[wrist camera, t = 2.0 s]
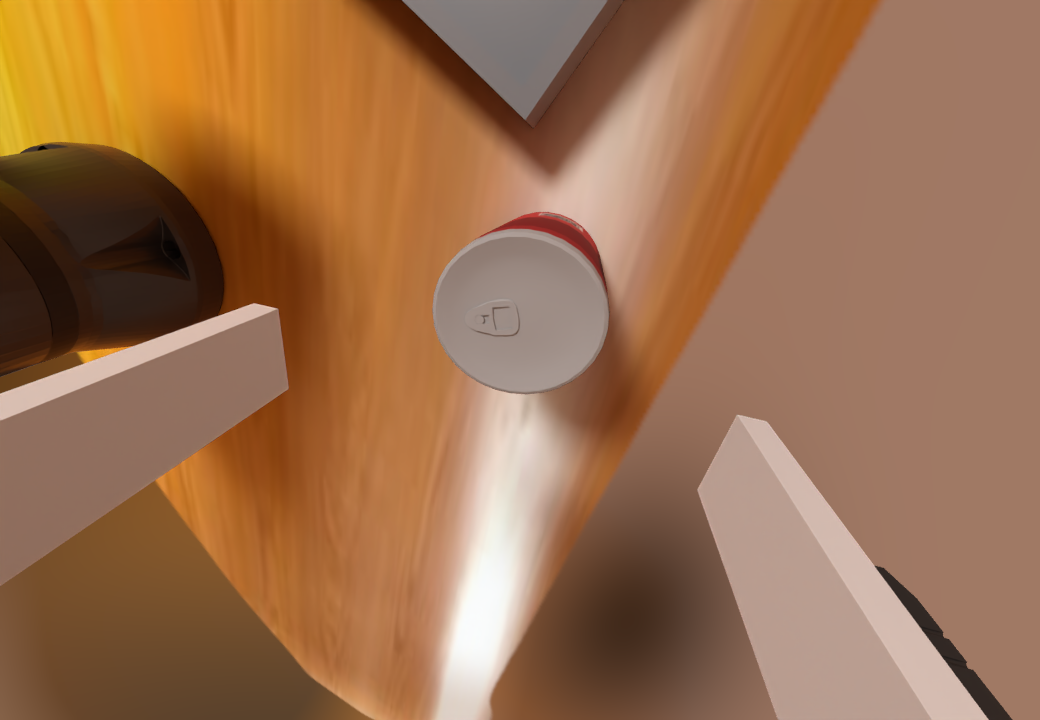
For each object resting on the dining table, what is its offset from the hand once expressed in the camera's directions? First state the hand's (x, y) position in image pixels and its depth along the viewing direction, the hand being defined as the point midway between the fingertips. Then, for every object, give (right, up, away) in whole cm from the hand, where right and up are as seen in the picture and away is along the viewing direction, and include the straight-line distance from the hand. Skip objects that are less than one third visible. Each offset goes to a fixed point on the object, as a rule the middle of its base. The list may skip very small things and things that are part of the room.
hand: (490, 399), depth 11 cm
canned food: (+2, +8, +16) cm, 18 cm away
